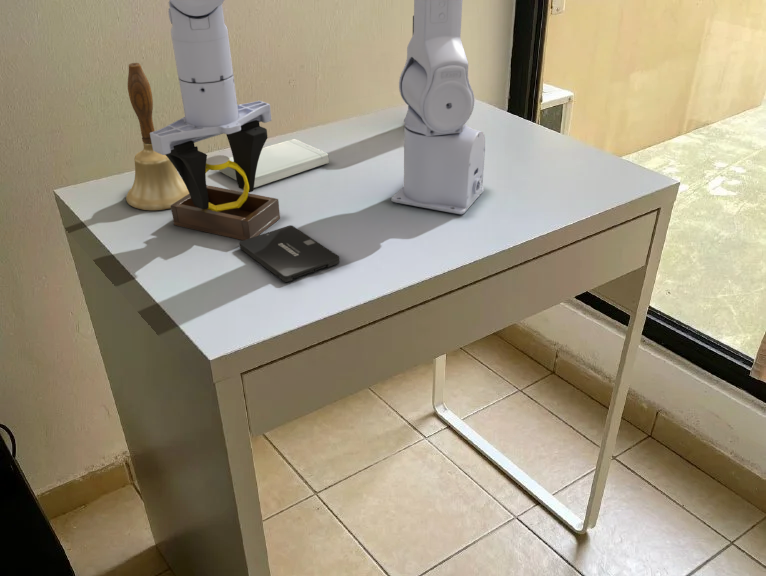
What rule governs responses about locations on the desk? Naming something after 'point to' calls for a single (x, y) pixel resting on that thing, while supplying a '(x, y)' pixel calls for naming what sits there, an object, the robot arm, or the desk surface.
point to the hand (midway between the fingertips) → (224, 197)
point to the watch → (222, 163)
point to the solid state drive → (288, 252)
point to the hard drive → (283, 161)
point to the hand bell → (150, 154)
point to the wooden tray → (228, 214)
